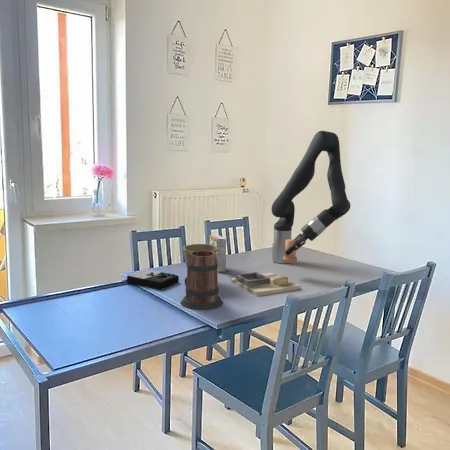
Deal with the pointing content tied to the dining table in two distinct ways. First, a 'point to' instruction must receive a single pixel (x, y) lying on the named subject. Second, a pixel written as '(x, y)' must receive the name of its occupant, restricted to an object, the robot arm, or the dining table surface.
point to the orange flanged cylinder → (291, 257)
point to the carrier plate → (264, 283)
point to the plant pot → (197, 249)
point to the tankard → (202, 282)
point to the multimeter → (153, 279)
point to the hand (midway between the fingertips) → (286, 252)
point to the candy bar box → (219, 251)
